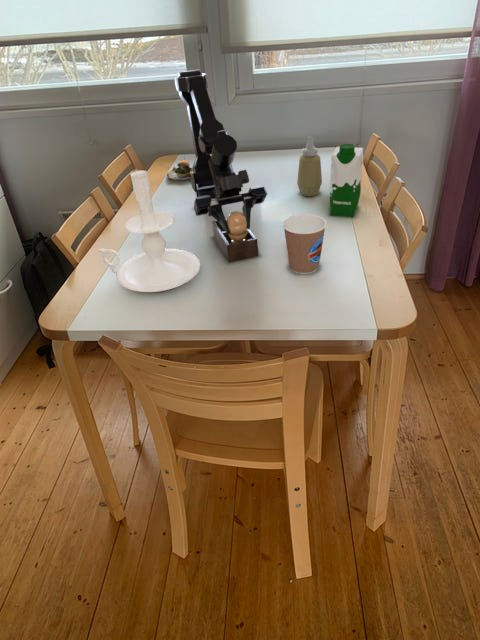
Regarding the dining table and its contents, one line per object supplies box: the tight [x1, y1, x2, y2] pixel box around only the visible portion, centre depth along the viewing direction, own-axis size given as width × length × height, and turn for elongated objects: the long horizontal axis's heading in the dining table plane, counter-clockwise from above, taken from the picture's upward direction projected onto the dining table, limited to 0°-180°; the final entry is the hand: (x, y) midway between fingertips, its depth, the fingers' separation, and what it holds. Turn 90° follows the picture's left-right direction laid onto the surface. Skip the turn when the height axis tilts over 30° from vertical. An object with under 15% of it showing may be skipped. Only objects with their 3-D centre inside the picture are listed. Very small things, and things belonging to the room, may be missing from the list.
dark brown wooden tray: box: [211, 218, 259, 263], centre depth 128 cm, size 8×16×5 cm, turn 17°
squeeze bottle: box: [296, 136, 323, 197], centre depth 150 cm, size 8×8×18 cm
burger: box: [166, 156, 193, 181], centre depth 174 cm, size 12×12×8 cm
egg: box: [226, 210, 247, 243], centre depth 122 cm, size 5×5×9 cm
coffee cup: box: [282, 213, 328, 275], centre depth 114 cm, size 10×10×12 cm
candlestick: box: [97, 169, 201, 293], centre depth 110 cm, size 21×25×28 cm
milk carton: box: [329, 143, 364, 218], centre depth 137 cm, size 9×9×20 cm
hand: (238, 230), depth 121 cm, fingers closed on egg, 5 cm apart
